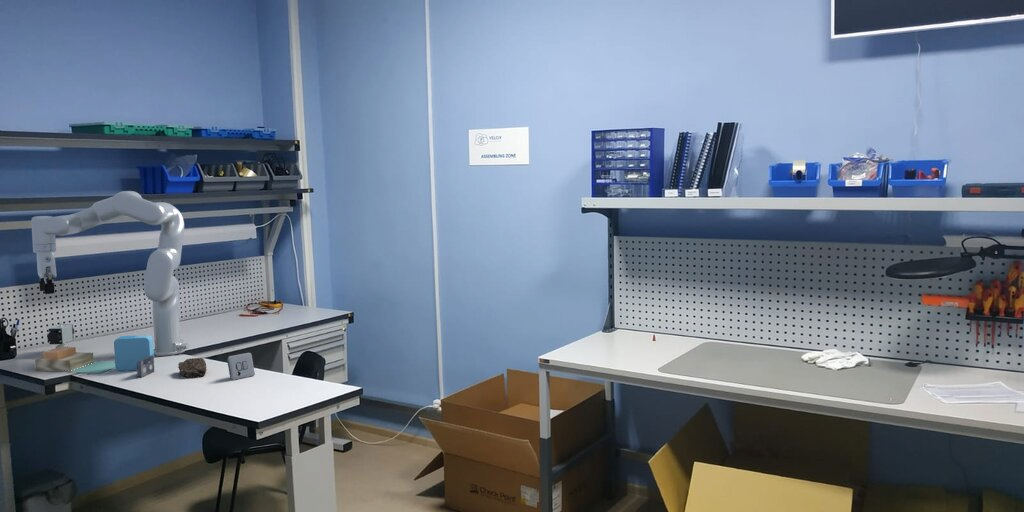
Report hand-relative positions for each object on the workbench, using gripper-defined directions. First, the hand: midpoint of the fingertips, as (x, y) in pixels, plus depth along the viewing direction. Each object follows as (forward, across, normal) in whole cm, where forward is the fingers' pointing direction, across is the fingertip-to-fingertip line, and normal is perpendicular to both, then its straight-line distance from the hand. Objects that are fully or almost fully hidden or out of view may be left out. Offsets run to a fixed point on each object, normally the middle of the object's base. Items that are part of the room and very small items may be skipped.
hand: (47, 292), depth 283 cm
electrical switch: (+25, -79, -44) cm, 94 cm away
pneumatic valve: (+26, +5, -4) cm, 27 cm away
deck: (+26, -20, -1) cm, 33 cm away
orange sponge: (+22, -19, 0) cm, 29 cm away
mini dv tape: (+26, -53, -20) cm, 62 cm away
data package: (+26, -42, -20) cm, 53 cm away
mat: (+25, -31, -10) cm, 41 cm away
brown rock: (+25, -63, -33) cm, 76 cm away
